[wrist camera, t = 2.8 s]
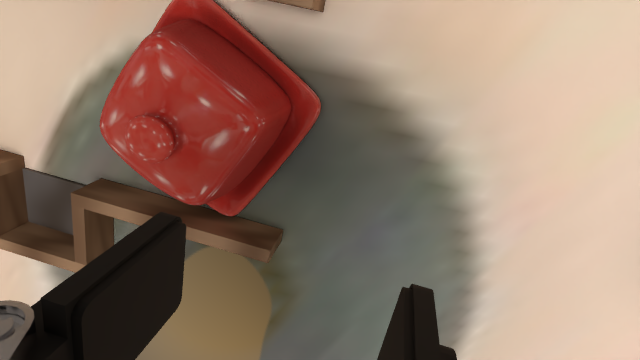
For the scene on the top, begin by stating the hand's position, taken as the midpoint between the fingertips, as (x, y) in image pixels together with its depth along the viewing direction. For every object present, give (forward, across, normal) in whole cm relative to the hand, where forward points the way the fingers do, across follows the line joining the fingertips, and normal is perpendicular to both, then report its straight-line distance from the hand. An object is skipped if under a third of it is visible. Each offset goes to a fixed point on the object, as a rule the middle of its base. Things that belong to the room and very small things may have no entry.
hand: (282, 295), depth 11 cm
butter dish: (+16, +10, 0) cm, 19 cm away
